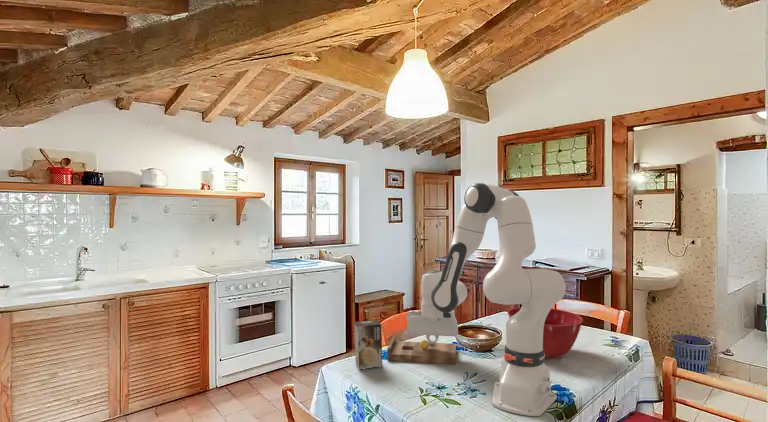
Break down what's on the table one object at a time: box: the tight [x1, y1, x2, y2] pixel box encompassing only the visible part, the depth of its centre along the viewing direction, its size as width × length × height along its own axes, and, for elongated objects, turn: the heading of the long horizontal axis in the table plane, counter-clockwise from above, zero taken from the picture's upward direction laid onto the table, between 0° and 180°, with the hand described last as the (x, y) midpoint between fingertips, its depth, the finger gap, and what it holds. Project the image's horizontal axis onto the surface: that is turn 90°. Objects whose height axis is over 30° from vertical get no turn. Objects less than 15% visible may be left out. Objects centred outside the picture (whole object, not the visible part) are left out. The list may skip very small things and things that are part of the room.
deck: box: [386, 335, 457, 365], centre depth 162 cm, size 26×16×4 cm, turn 80°
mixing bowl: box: [507, 307, 584, 360], centre depth 164 cm, size 28×28×16 cm
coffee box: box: [354, 320, 383, 370], centre depth 151 cm, size 9×6×16 cm
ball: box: [420, 339, 429, 349], centre depth 162 cm, size 4×4×4 cm
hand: (432, 345), depth 162 cm, fingers closed
